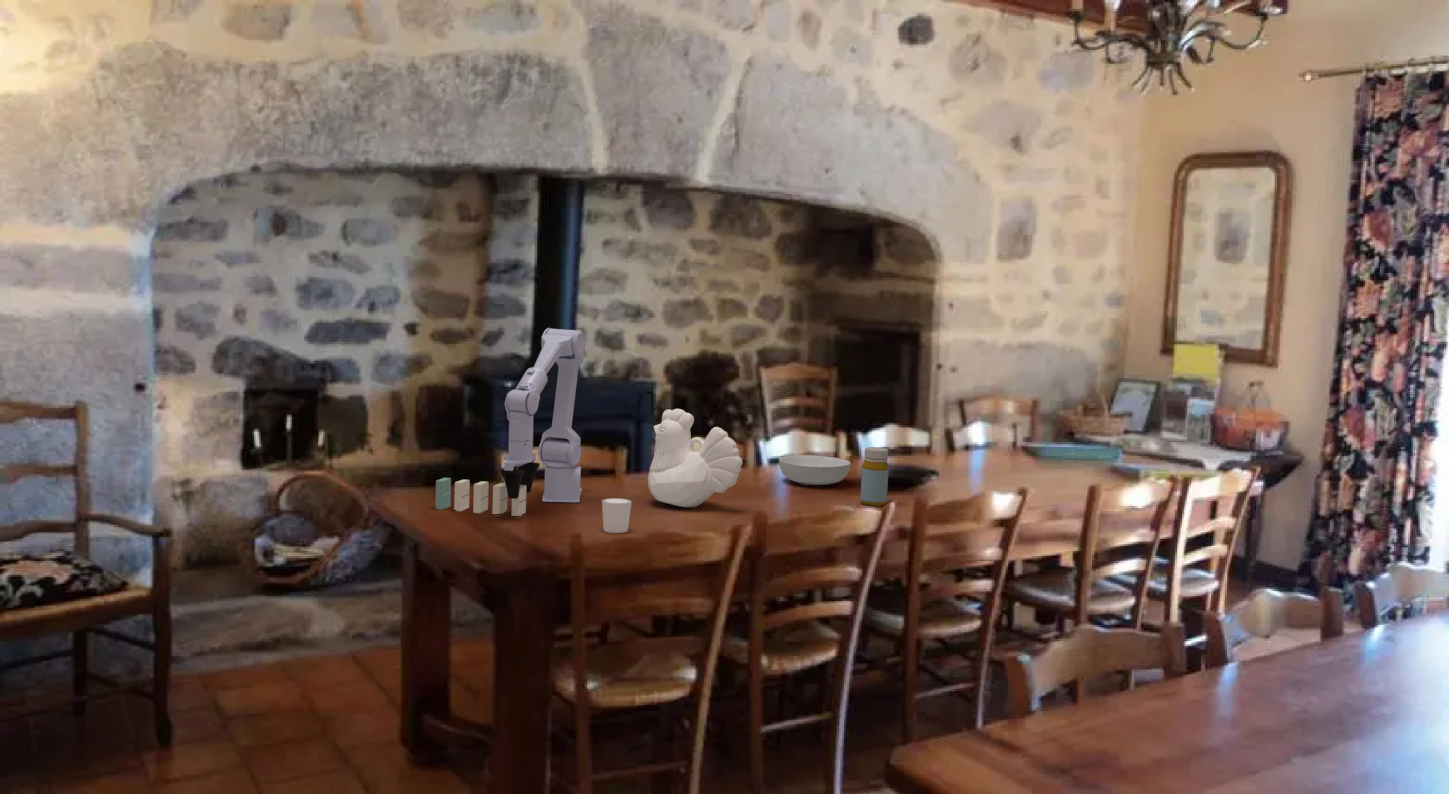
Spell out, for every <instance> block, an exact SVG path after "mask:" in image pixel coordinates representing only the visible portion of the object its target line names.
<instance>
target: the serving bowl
mask: <svg viewBox="0 0 1449 794" xmlns="http://www.w3.org/2000/svg"><path fill="white" fill-rule="evenodd" d="M778 463H779V464H778V465H779V470H780V472H781V473H782V474H783V476H785V478H787V479H788V480H790V481H793V482H795V483H798V484H800V485H802V486H808V485H826V486H829V485H832V484H837V483H839V482H841V481H843V480H844V479H845V478H846V477H847V476H848V474H849V472H850V468H851V464H852V463H851V462H850V461H849V460H846V459H843V458H839V457H832V456H822V455H811V454H810V455H806V454H803V455H800V454H797V455H796V454H795V455H784V456H780V457H779V459H778Z"/></svg>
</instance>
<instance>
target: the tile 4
mask: <svg viewBox="0 0 1449 794" xmlns="http://www.w3.org/2000/svg"><path fill="white" fill-rule="evenodd" d="M506 511H507V512H508V492H507V488H506V484H505V482H500V483H497V484H495V485H493V486H492V512H491V513H492V514H501V513H503V514H505V513H507V512H506ZM504 512H505V513H504ZM501 515H502V514H501Z"/></svg>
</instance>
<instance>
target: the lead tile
mask: <svg viewBox="0 0 1449 794" xmlns="http://www.w3.org/2000/svg"><path fill="white" fill-rule="evenodd" d="M526 506H527V493H526V485H520V490H519V496H518V498H517V499H513V498H511V516H520V517H522V516H523V515H522V514H524V513H526V511H527V507H526ZM526 514H527V513H526ZM521 515H522V516H521ZM524 515H525V514H524Z"/></svg>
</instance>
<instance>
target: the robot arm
mask: <svg viewBox="0 0 1449 794" xmlns="http://www.w3.org/2000/svg"><path fill="white" fill-rule="evenodd" d="M586 341H587V340H586V337H585V335H584V332H583V331H582V330H581V329H576V330H575V329H564V328H563V329H562V328H561V329H560V328H559V329H558V328H551V327H547V328H546V329H545V330H544V331H543V333H542V335H541V343H540V344H541V346H540V347H541V350H540V351H539V354H538V357H537V359H536V361H535V363H534V366H533V367H529V368H528V369H526V371H525V372H524V374H523V376H522V377H521V379H520V380H519V382H518V384H517V385H516V387H515V389H512V390H510V391H508V393H507V394H506V397H505V400H504V408H505V412H506V419H507V421H508V422H509V423H508V455H506V456H504V457H503V460H505V462H504V463H503V464H504V465H503V467H502V468H500V470H499V471H500V474H501V476H502V478H503V481H504V483H505V484H506V488H507V498H508V499H512V498H513V499H517V498H518V496H519V490H520V485H526V494H527V493H528V494H530V493H531V491H532V487H533V483H534V481H535V480H534V479H535V476H536V474H537V472H538V470H539V468H540V465H541V463H542V466H544V489H543V491H544V493H543V494H542V500H541V501H542V502H543V503H545V502H546V503H580V502H581V500H580V499H581V495H582V487H581V471H582V467H581V466H577V464H578V463H579V461H580V459H581V455H582V448H581V437H580V435H579V434H578V433H577V432H576V431H575V430H574V429H573V428H572V426H573V417H574V408H575V400H576V390H577V384H578V376H579V374H578V373H579V367H580V366H579V365H580V364H582V363H583V362H584V361H585V360H584V358H585V353H586V352H585V351H586V345H587V344H586V343H587V342H586ZM555 363H556V364H557V366H558V370H557V379H556V381H557V382H556V389H555V394H554V396H555V398H554V407H553V415H552V421H551V422H552V423H551V427H550V428H548V429H547V430H545V431H544V432H543V433H542V434H541V439H540V443H539V445H538V449H537V450H538V451H537V453H535V452H533V450H534V415H535V414H536V412H537V411H538V408H539V403H540V400H541V396H540V395H541V393H542V391H544V388H545V386H546V385H547V384H548V381H549V380H548V376H547V374H549V371H550V370H551V368H552V367H553V366H554V364H555ZM563 439H565V440H563ZM537 454H538V458H539V460H540V462H541V463H539V462H536V461H537V459H536V458H537V457H536V456H537Z"/></svg>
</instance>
